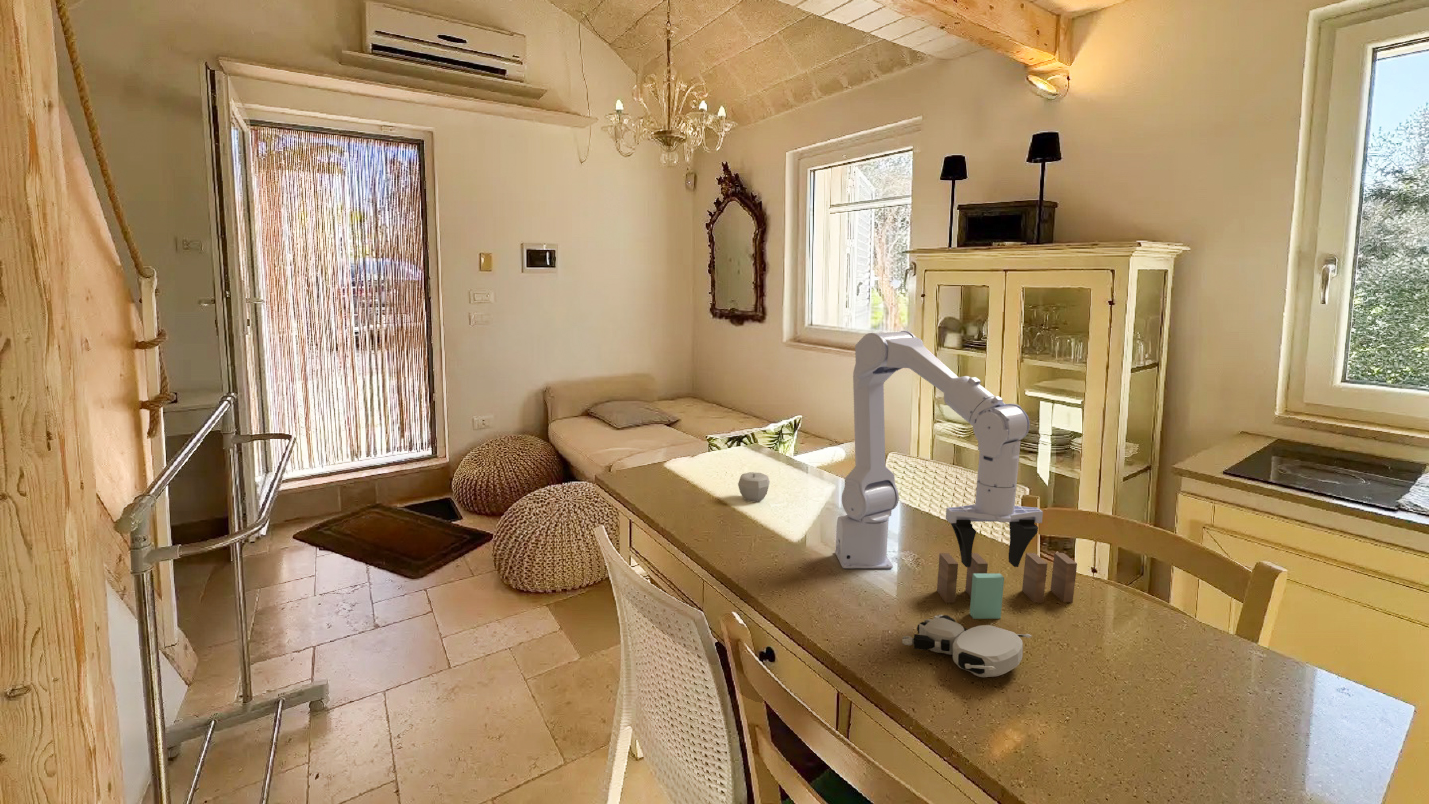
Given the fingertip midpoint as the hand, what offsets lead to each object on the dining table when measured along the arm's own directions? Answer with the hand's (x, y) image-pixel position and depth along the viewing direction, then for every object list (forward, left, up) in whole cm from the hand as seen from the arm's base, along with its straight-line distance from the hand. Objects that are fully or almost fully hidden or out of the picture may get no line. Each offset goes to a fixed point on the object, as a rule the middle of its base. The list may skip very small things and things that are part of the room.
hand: (989, 564), depth 111 cm
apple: (-33, +58, -9) cm, 67 cm away
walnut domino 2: (+1, +7, -9) cm, 11 cm away
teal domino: (0, 0, -9) cm, 9 cm away
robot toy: (-8, -12, -9) cm, 17 cm away
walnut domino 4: (+16, +7, -9) cm, 20 cm away
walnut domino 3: (+11, +7, -9) cm, 16 cm away
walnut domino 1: (-4, +7, -9) cm, 12 cm away
